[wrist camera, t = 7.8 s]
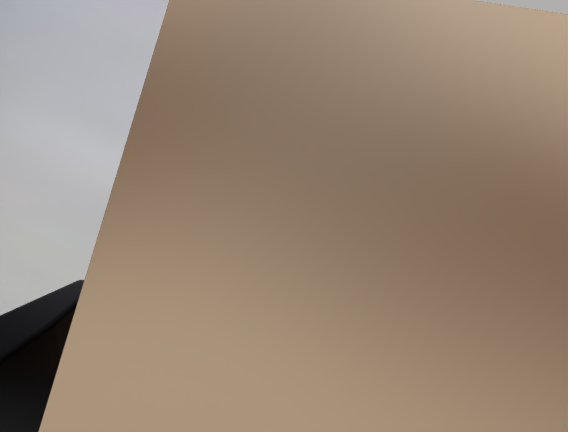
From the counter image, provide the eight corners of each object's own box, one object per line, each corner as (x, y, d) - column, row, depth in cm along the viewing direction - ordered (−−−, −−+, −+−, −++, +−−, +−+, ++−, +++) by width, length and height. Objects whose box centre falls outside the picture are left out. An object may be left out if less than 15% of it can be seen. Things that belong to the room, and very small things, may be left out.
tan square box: (376, 410, 15) (797, 667, 3) (211, 385, 15) (4, 544, 3) (386, 249, 17) (668, 28, 5) (241, 227, 17) (182, -44, 5)
